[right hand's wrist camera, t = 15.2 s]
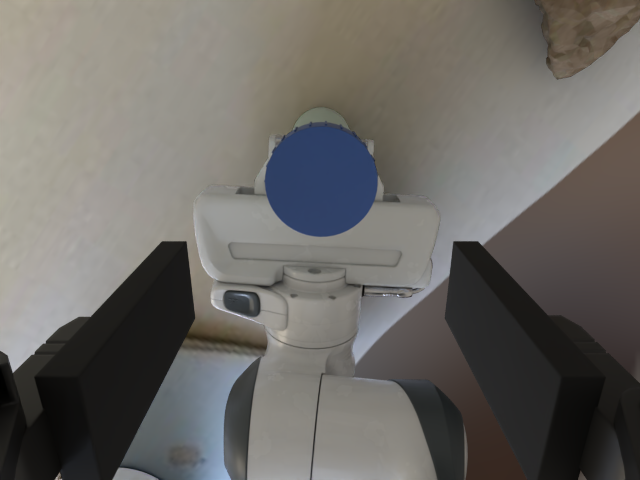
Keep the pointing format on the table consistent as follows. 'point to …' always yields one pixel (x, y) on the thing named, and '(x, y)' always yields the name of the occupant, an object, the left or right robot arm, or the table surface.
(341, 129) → the lid
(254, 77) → the table surface
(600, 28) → the stone
